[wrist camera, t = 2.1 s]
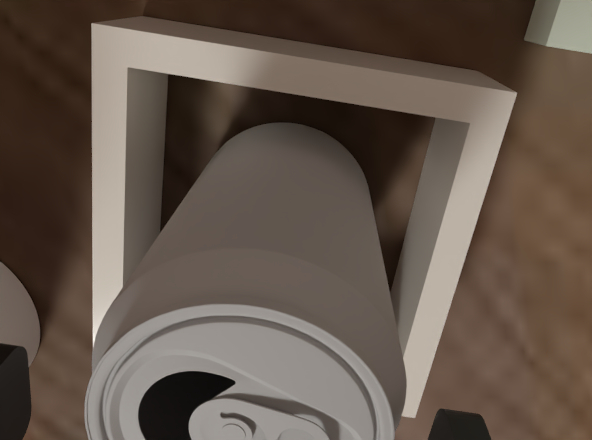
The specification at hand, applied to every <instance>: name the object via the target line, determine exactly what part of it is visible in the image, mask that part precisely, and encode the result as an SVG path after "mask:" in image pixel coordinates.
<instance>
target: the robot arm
mask: <svg viewBox="0 0 592 440" xmlns="http://www.w3.org/2000/svg"><path fill="white" fill-rule="evenodd" d="M30 416H31V394H30V380H29V367H28V355H27V351H26V349H25V348H24V347H22V346H16V345H10V344H3V343H0V440H22V439H23V437H24V435H25V433H26V430H27V428H28V424H29V421H30ZM428 440H491V437H490V435H489V432H488V429H487V427H486V424H485V422H484V419H483V418H482V416H481V415H480V414H476V413H469V412H462V411H455V410H448V409H439V411H438V412H437V414H436V416H435V419H434V422H433V425H432V428H431V431H430V434H429V437H428Z"/></svg>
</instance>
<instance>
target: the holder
mask: <svg viewBox="0 0 592 440" xmlns="http://www.w3.org/2000/svg"><path fill="white" fill-rule="evenodd" d="M91 27H92V249H93V346H94V342H95V337H96V334H97V331H98V328H99V326H100V324H101V322H102V319H103V318H104V316H105V314H106V312H107V310H108V309H109V307H110V305H111V304H112V302H113V301H114V300H115V298H116V297H117V295H118V294H119V292H120V291H121V289H122V288H123V286H124V285H125V284H126V282H127V281H128V279H129V278H130V276H131V275H132V273H133V272H134V270H135V269H136V268H137V266H138V265H139V263H140V262H141V260H142V259H143V257H144V256H145V254H146V253H147V252H148V250H149V249H150V247H151V246H152V244H153V243H154V241H155V240H156V238H157V237H158V236H159V234H160V224H161V205H162V186H163V167H164V148H165V128H166V109H167V90H168V74H173V75H179V76H185V77H191V78H197V79H203V80H210V81H216V82H222V83H228V84H234V85H240V86H246V87H252V88H259V89H265V90H271V91H277V92H283V93H289V94H295V95H301V96H308V97H314V98H320V99H326V100H332V101H338V102H344V103H351V104H357V105H363V106H369V107H375V108H381V109H387V110H393V111H400V112H406V113H412V114H418V115H424V116H430V117H436V118H435V122H434V126H433V130H432V134H431V138H430V142H429V145H428V149H427V153H426V157H425V161H424V165H423V169H422V173H421V176H420V180H419V184H418V188H417V192H416V196H415V200H414V204H413V207H412V211H411V215H410V219H409V223H408V227H407V231H406V235H405V238H404V242H403V246H402V250H401V254H400V258H399V262H398V265H397V269H396V273H395V277H394V281H393V285H392V289H391V293H390V296H391V301H392V306H393V311H394V316H395V321H396V325H397V330H398V335H399V340H400V345H401V350H402V355H403V360H404V365H405V370H406V379H407V388H406V399H405V405H404V409H403V413H402V416H405V417H411V418H415V416H416V413H417V410H418V407H419V403H420V400H421V397H422V394H423V391H424V388H425V384H426V381H427V378H428V375H429V372H430V369H431V365H432V362H433V359H434V356H435V353H436V349H437V346H438V343H439V340H440V337H441V334H442V330H443V327H444V324H445V321H446V318H447V315H448V311H449V308H450V305H451V302H452V299H453V295H454V292H455V289H456V286H457V283H458V280H459V276H460V273H461V270H462V267H463V264H464V261H465V257H466V254H467V251H468V248H469V245H470V241H471V238H472V235H473V232H474V229H475V226H476V222H477V219H478V216H479V213H480V210H481V206H482V203H483V200H484V197H485V194H486V191H487V187H488V184H489V181H490V178H491V175H492V172H493V168H494V165H495V162H496V159H497V156H498V152H499V149H500V146H501V143H502V140H503V137H504V133H505V130H506V127H507V124H508V121H509V118H510V114H511V111H512V108H513V105H514V102H515V98H516V95H517V92H515V91H513V90H511V89H510V88H508V87H506V86H504V85H502V84H501V83H499V82H497V81H495V80H493V79H491V78H490V77H488V76H486V75H484V74H482V73H481V72H479V71H475V70H469V69H463V68H457V67H451V66H444V65H438V64H432V63H426V62H420V61H414V60H408V59H402V58H396V57H390V56H383V55H377V54H371V53H365V52H359V51H353V50H347V49H341V48H335V47H328V46H322V45H316V44H310V43H304V42H298V41H292V40H286V39H280V38H274V37H267V36H261V35H255V34H249V33H243V32H237V31H231V30H225V29H219V28H212V27H206V26H200V25H194V24H188V23H182V22H176V21H170V20H164V19H158V18H151V17H145V16H138V17H131V18H124V19H117V20H110V21H103V22H96V23H91Z"/></svg>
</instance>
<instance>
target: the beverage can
mask: <svg viewBox="0 0 592 440" xmlns="http://www.w3.org/2000/svg"><path fill="white" fill-rule="evenodd" d="M406 388H407V379H406V370H405V365H404V360H403V355H402V350H401V345H400V340H399V335H398V330H397V325H396V321H395V316H394V311H393V306H392V301H391V296H390V291H389V286H388V281H387V276H386V271H385V266H384V262H383V257H382V252H381V247H380V242H379V237H378V232H377V227H376V222H375V217H374V212H373V208H372V203H371V198H370V193H369V188H368V184H367V181H366V178H365V176H364V173H363V171H362V169H361V168H360V166H359V164H358V163H357V161H356V160H355V158H354V157H353V156H352V154H351V153H350V152H349V151H348V150H347V149H346V148H345V147H344V146H343V145H342V144H340V143H339V142H338V141H337V140H335V139H334V138H332V137H331V136H329V135H327V134H326V133H324V132H322V131H320V130H317V129H314V128H312V127H309V126H306V125H301V124H295V123H269V124H263V125H259V126H255V127H253V128H250V129H247V130H245V131H243V132H241V133H239V134H238V135H236V136H234V137H233V138H231V139H230V140H228V141H227V142H226V143H225V144H224V145H223V146H222V147H221V148H220V149H219V150H218V151H217V152H216V154H215V155H214V156H213V157H212V158H211V160H210V161H209V163H208V164H207V166H206V167H205V169H204V170H203V171H202V173H201V174H200V176H199V177H198V179H197V180H196V182H195V183H194V185H193V186H192V187H191V189H190V190H189V192H188V193H187V195H186V196H185V198H184V199H183V201H182V202H181V203H180V205H179V206H178V208H177V209H176V211H175V212H174V214H173V215H172V217H171V218H170V220H169V221H168V222H167V224H166V225H165V227H164V228H163V230H162V231H161V233H160V234H159V236H158V237H157V238H156V240H155V241H154V243H153V244H152V246H151V247H150V249H149V250H148V252H147V253H146V254H145V256H144V257H143V259H142V260H141V262H140V263H139V265H138V266H137V268H136V269H135V270H134V272H133V273H132V275H131V276H130V278H129V279H128V281H127V282H126V284H125V285H124V286H123V288H122V289H121V291H120V292H119V294H118V295H117V297H116V298H115V300H114V301H113V302H112V304H111V305H110V307H109V309H108V310H107V312H106V314H105V316H104V318H103V319H102V322H101V324H100V326H99V328H98V331H97V334H96V337H95V342H94V346H93V353H92V376H91V379H90V381H89V384H88V388H87V392H86V397H85V425H86V430H87V435H88V439H89V440H394V438H395V431H396V429H397V427H398V425H399V422H400V419H401V416H402V413H403V409H404V405H405V399H406Z"/></svg>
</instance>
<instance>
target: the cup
mask: <svg viewBox="0 0 592 440" xmlns="http://www.w3.org/2000/svg"><path fill="white" fill-rule="evenodd" d="M0 343H3V344H10V345H16V346H22V347H24V348H25V349H26V351H27V355H28V367H29V366H30V365H31V363H32V362H33V360H34V358H35V356H36V354H37V351H38V347H39V343H40V324H39V319H38V314H37V311H36V308H35V306H34V304H33V301H32V299H31V297H30V296H29V294H28V292H27V290H26V289H25V288H24V286H23V285H22V283H21V282H20V281H19V280H18V278H17V277H16V276H15V275H14V274H13V273H12V272H11V271H10V270H9V269H8V268H7V267H6V266H5V265H4V264H3V263H2V262H0Z"/></svg>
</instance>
